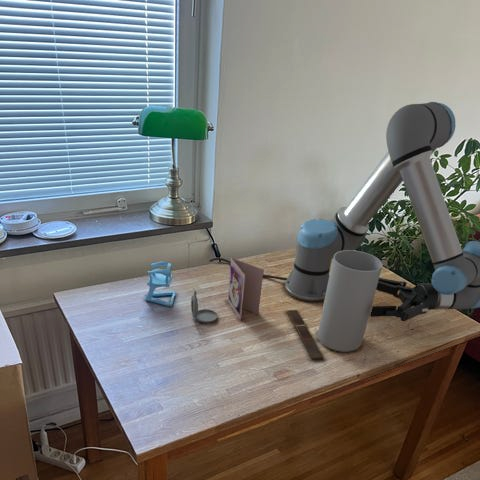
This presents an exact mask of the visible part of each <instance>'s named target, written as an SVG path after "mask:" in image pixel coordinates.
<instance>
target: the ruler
mask: <svg viewBox="0 0 480 480" xmlns="http://www.w3.org/2000/svg"><path fill="white" fill-rule="evenodd" d="M286 313H287V315H288V317H289V319H290V321H291V322H292V324H293V326H294V328H295V330H296V332H297V334H298V336H299V338H300V339H301V342H302V343H303V346H304V347H305V349H306V351H307V353H308V355H309V357H310V359H311V361H323V360H324V356H323V354H322V352H321V350H320V349H319V348H318V345H317V343H316V342H315V340H314V338H313V337H312V335H311V332H310V331H309V329H308V327H307V326H306V324H305V322H304V320H303V318H302V317H301V315H300V313H299V311H298V309H297V310H295V309H294V310H293V309H292V310H291V309H290V310H287V312H286Z"/></svg>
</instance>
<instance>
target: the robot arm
mask: <svg viewBox="0 0 480 480" xmlns="http://www.w3.org/2000/svg"><path fill="white" fill-rule="evenodd" d="M455 131H456V116H455V114H454V112H453V111H452V109H451V107H449V106H448V105H446V104H444V103H441V102H437V101H428V102H426V103H425V102H423V103H410V104H406V105H403V106H402V107H400V108H399V109H398V110H396V111H395V112H394V113H393V114H392V115H391V118H390V119H389V122H388V123H387V126H386V131H385V132H386V133H385V138H386V147H387V152H386V154H385V155H384V156H383V157H382V159H381V160H380V162H379V163H378V164H377V166H376V167H375V168H374V170H373V171H372V172H371V174H370V175H369V176H368V178H367V179H366V181H365V182H364V183H363V184H362V186H361V187H360V188H359V190H358V191H357V192H356V194H355V195H354V197H353V198H352V199H351V200H350V201H349V203H348V205H347V206H342V207H340V208H339V209H338V210H337V212H335V214H334V215H333V216H332V218H331V219H330V220H329V219H325V218H318V219H317V218H313V219H308V220H306V221H305V222H303V223H302V224H301V226H300V227H299V232H298V233H297V243H296V247H295V249H296V250H295V256H294V263H293V267H292V269H291V270H290V273H289V274H288V277H282V276H278V275H277V276H276V275H268V274H263V278H268V279H275V280H281V281H285V284H284V291H285V292H286V293H287V294H288V295H289V296H290V297H292V298H294V299H296V300H299V301H302V302H308V303H317V302H318V303H319V302H324V300H325V295H326V290H327V285H328V281H329V276H330V271H331V266H332V261H333V256H334V254H335V253H337V252H339V251H344V250H354V251H356V250H357V249H358V248H359V247H360V246H361V245H362V244H363V243H364V242H365V240H366V237H367V233H368V232H369V229H370V225H369V223H370V222H371V221H372V219H373V218H374V217H375V215H377V213H378V212H379V211H380V210H381V208H382V207H383V206H384V204H385V203H386V202H387V201H388V199H390V197H392V195H393V194H394V193H395V191H396V190H397V188H398V187H399V186H400V185H401V184H402V183H403V185H404V187H405V191H406V193H407V196H408V198H409V201H410V205H411V207H412V211H413V212H414V215H415V217H416V220H417V223H418V226H419V229H420V231H421V234H422V237H423V240H424V242H425V245H426V248H427V251H428V253H429V255H430V256H429V257H430V260H431V262H432V265H433V268H434V271H433V273H432V275H431V282H422V283H418V284H417V285H415V286H414V287H409V286H407V282H406V281H399V280H394V279H393V280H392V279H388V278H384V277H379V281H378V284H377V288H376V291H378V292H381V293H385V294H388V295H391V296H393V298H396V299H399V300H400V301H401V304H400V305H372V306H371V310H370V314H369V317H371V318H375V317H387V318H388V317H395V318H398V319H400V321H401V322H406V321H408V320H411V319H413V318H416V317H417V316H420V315H426V314H427V312H428V311H431V310H433V311H435V310H436V311H437V310H472V309H479V308H480V241H478V240H471V241H468V242H466V244H465V245H464V248H462V247H461V246H462V245H461V243H460V241H459V237H458V235H457V232H456V229H455V226H454V223H453V220H452V218H451V214H450V212H449V209H448V205H447V202H446V201H445V197H444V195H443V191H442V189H441V186H440V182H439V179H438V177H437V175H436V172H435V169H434V165H433V162H432V160H431V156H432V155H433V154H434V152H435V151H436V150H437V149H439V148H442V147H444V146H445V145H447V143H449V142H450V140H451V139H452V138H453V136H454V134H455ZM215 261H221V262H225V263H228V264H230V265H231V260H229V259H226V258H223V257H213V258H211V259H210V260H208V262H210V263H212V262H215Z"/></svg>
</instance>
